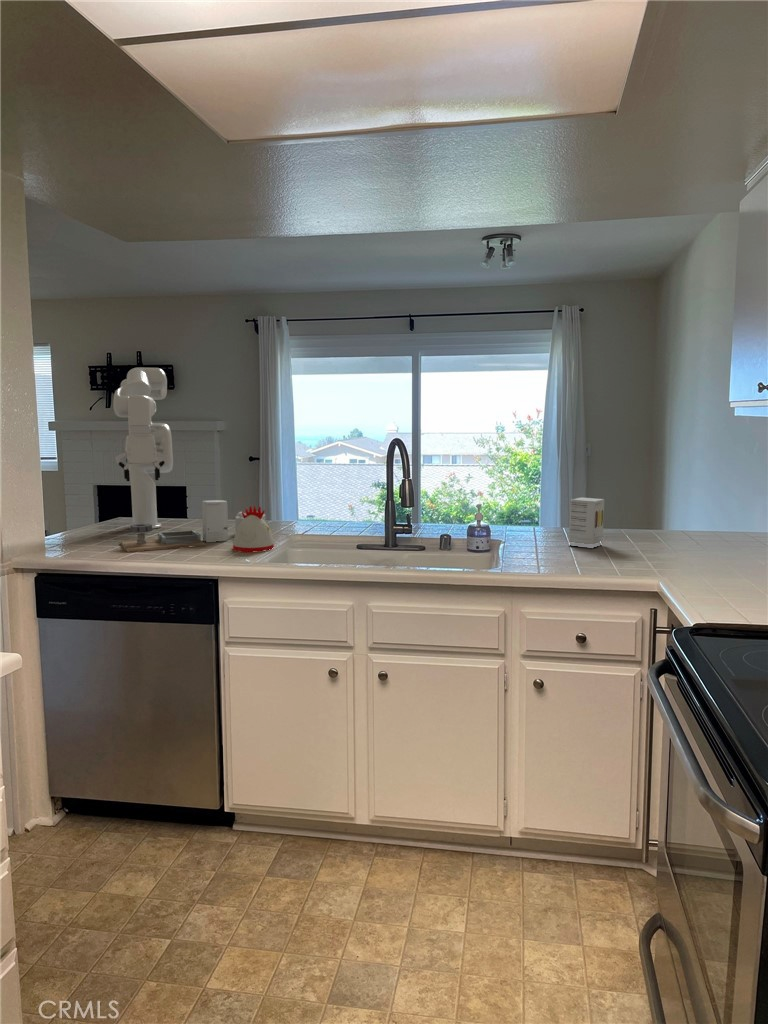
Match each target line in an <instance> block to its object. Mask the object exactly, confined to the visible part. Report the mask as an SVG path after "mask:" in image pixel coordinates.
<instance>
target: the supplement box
mask: <svg viewBox="0 0 768 1024" xmlns="http://www.w3.org/2000/svg"><path fill="white" fill-rule="evenodd" d="M604 514H605V499H604V498H592V497H577V498H572V499H570V502H569V525H568V543H569V542H575V543H584V544H595V543H598V542H600V541H602V542H603V535H604V534H603V533H604V519H605V518H604V516H605V515H604Z"/></svg>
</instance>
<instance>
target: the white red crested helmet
mask: <svg viewBox="0 0 768 1024" xmlns="http://www.w3.org/2000/svg"><path fill="white" fill-rule="evenodd" d="M241 512H242V515H243V517H244V519H243V520H242V522H241V523H240V524H239V526H238V528H237V530H236V529H235V534H234V538H233V541H232V549H234V550H233V551H235V550H236V551H235V552H238V551H242V552H241V553H254V552H253V551H263V550H269V549H272V548H273V547H274V548H275V544H274V538H273V534H272V531H271V528H270V527H269V525H268V524H267V522H265V521H264V520H263V519H262V516H263V514H265V512H266V510H265V509H264V510H262V506H258V509H257V508H256V505H254V506H253V507H252V505H249V509H248V508H245V512H244V511H241ZM244 513H246V515H245V514H244ZM274 548H273V549H274ZM273 549H272V550H273ZM269 551H270V550H269Z"/></svg>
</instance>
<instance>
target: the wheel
mask: <svg viewBox="0 0 768 1024" xmlns="http://www.w3.org/2000/svg"><path fill="white" fill-rule="evenodd" d="M132 524H133V523H132ZM129 525H130V524H129ZM152 531H153V529H152V525H151V524H133V525H130V528H129V532H130V533H136V534H139V533H150V532H152Z"/></svg>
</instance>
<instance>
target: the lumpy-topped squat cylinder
mask: <svg viewBox="0 0 768 1024" xmlns="http://www.w3.org/2000/svg"><path fill="white" fill-rule="evenodd" d="M242 512H243V511H238V512H237V514H236V515H235V517H234V519H235V520H234V522H235V531H236V530H237V528H238V526H239V524H240V523H241V522H242V520H243V519H244V517H243V515H242ZM243 513H244V514H245V515H246V512H243ZM266 518H267V517H266V514H265V513H264V514H263V516H262V519H263V520H264V521H265V522H266ZM266 523H267V522H266Z"/></svg>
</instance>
